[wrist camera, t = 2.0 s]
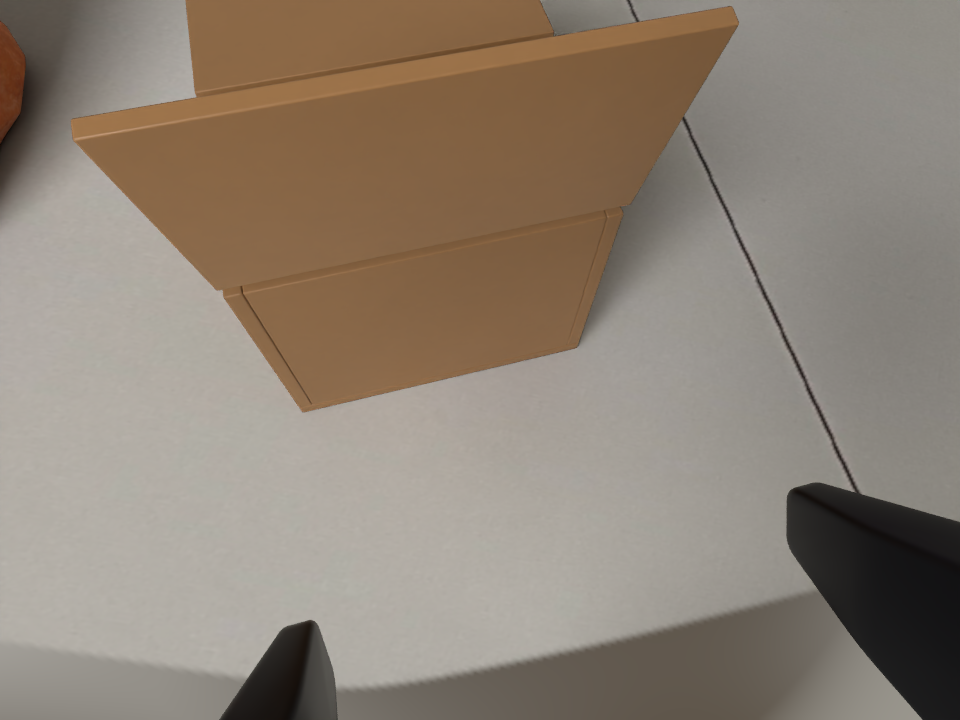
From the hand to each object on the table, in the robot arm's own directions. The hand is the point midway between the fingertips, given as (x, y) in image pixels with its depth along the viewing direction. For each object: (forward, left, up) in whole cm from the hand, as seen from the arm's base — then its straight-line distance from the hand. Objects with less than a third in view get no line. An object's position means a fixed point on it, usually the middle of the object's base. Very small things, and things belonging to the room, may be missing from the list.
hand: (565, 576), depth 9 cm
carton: (+13, +9, -14) cm, 21 cm away
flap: (+7, +5, -1) cm, 9 cm away
